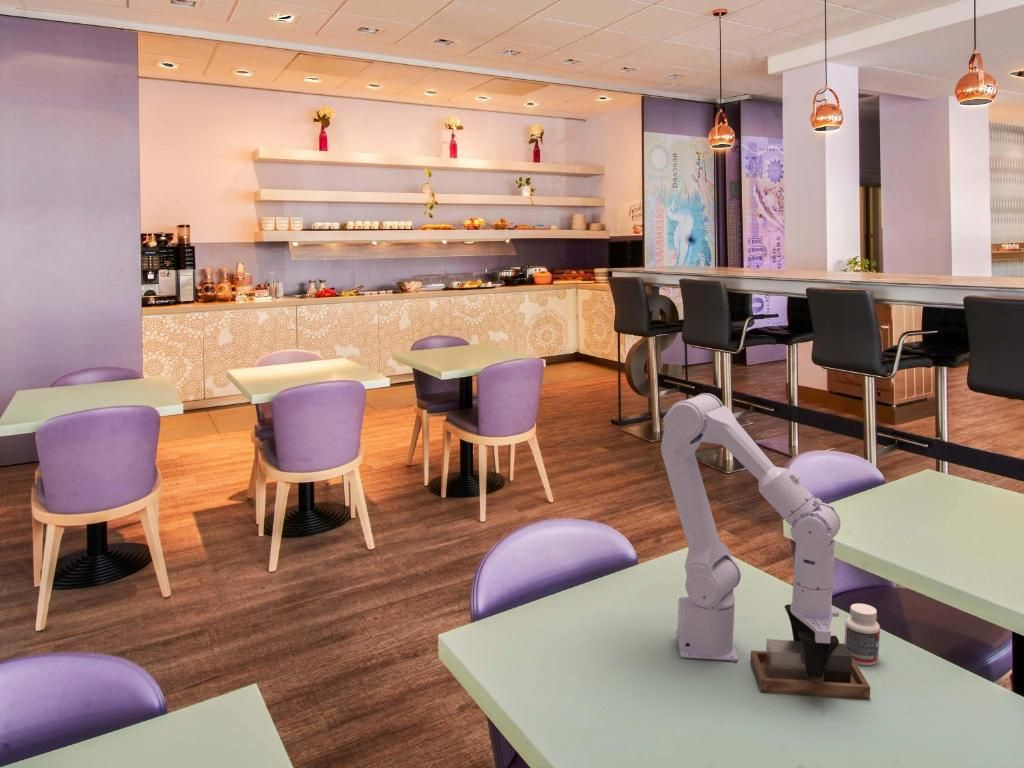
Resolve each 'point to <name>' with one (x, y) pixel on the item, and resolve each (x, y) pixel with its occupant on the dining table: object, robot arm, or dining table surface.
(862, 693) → the walnut tray
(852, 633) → the pill bottle
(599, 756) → the dining table surface
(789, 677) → the low gray brick
